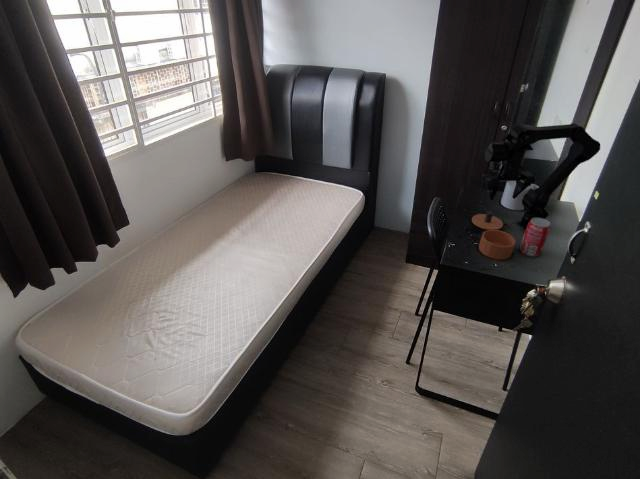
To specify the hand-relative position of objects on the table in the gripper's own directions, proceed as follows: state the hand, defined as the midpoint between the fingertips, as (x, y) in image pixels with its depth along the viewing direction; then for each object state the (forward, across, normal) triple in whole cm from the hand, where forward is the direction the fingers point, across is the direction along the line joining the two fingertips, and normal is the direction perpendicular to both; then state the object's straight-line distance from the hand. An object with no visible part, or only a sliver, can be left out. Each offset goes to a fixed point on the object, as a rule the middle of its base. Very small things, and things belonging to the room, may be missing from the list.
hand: (502, 199), depth 148 cm
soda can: (+13, -4, +18) cm, 23 cm away
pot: (+13, +8, +15) cm, 21 cm away
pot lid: (+12, +1, -3) cm, 13 cm away
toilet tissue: (+13, -19, -16) cm, 29 cm away
